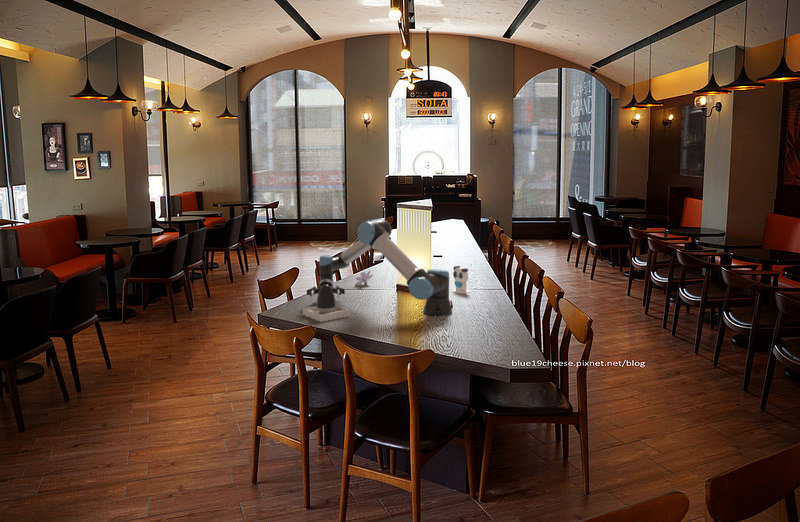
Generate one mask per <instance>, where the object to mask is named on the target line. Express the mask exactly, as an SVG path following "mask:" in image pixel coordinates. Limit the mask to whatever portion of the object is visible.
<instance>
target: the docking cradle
mask: <svg viewBox="0 0 800 522" xmlns="http://www.w3.org/2000/svg"><path fill="white" fill-rule="evenodd" d="M304 315H305V316H304ZM302 316H304V317H307V318H309V317H310V319H313V320H314V319H315V320H314V321H317V322H319V321H320V323H324V322H329V321H333V319H334V320H338V318H339V319H344V318H348V316H349V317H351V309H350V308H346V307H345V306H340V305H337V304H336V307H335V310H334V311H333V312H332V313H326V314H322V313H320V312H319V311H318V309H317V307H316V305H315V306H310V307H303V308H302ZM343 317H344V318H343ZM328 320H329V321H328ZM323 321H324V322H323Z"/></svg>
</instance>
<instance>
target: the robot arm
mask: <svg viewBox="0 0 800 522" xmlns="http://www.w3.org/2000/svg"><path fill="white" fill-rule="evenodd" d="M392 231H393V230H392V226H391V223H390V222H389V221H388V220H386V219H382V218H379V219H373V220H366V221H364V222H361V224H360V225H358V228H357V238H358V240H357V241H355V243H353V244H351V245H350V246H349V247H348V248H346V249H345V250H344V251H343V252H341V253H340V254H338V255H337V256H334V257H333V256H332V255H330V254H328V255H327V254H324V255H320V257H319V261H318V262H319V264H318V265H319V266H318V267H319V286H318V287H316V286H313V287H311V288H309V289H306V295H307V296H309V297H311V299H314V295H318V293H319V290H320V288H321V286H322V285H325V284H327V285H329V286H330V287H331V288H332V291H333V293H334V294H336V295H337V298H340V296H342V295H345V294H346V292H345V291H346V290H345V288H343V287H339V285H336V286H335V287H334V271H338V270H343V269H346V268H348V267H349V266H350V264H351V263H352V262H354V261H355V260H357V259H358V258H359V257H360V256H362V255H363V254H365V253H366V252H367V251H369V250H370V249H373V250H377V251H378V252H379V253H380V254H381V255H382V256H383V257H384V258H385V259H386V260H387V261H388V262H389V263H390V264H391V265H392V267H394V268H395V270H396V271H398V272H399V274H401V276H402V277H403V278H405V280H406V285H407V286H408V292H409V293H410V295H411V296H412V298H415V299H416V300H420V301H421V300H425V303H424V304H425V305H424V306H423V313H424V314H425V315H430V316H447V315H451V314H452V313H453V307H452V306H451V305H452V304H451V301H450V272H449V271H448V270H445V269H427V271H426V270H425V268H419V267H418V265H416V264H415V262H413V261H412V260H411V259H410V257H408V256H407V255H406V253H404V252H403V251H402V250H401V248H399V247H398V246H397V244H396V243H394V241H392V239H391V238H390V236H391V235H392Z"/></svg>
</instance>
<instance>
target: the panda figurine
mask: <svg viewBox="0 0 800 522" xmlns="http://www.w3.org/2000/svg"><path fill="white" fill-rule="evenodd" d="M453 278H454V285H455V288H454V289H451V292H452V293H453V294H468V293H470V292H471V290H470V289H468V288H467V282H468V280H469V269H468V268H466V267H461V266H460V265H456V266H455V265H454V266H453Z"/></svg>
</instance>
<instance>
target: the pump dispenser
mask: <svg viewBox="0 0 800 522" xmlns="http://www.w3.org/2000/svg"><path fill="white" fill-rule="evenodd" d="M336 305H337V303H336V298H335V293H333V291H332V288H331V287H330V286H329V285H327V284H325V285H322V286H321V288H320V290H319V293H317V298H316V305H315V306H316V307H317V309H318V311H319V312H320V313H322V314H326V313H332V312H333V311H334V310H335V307H336Z"/></svg>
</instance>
